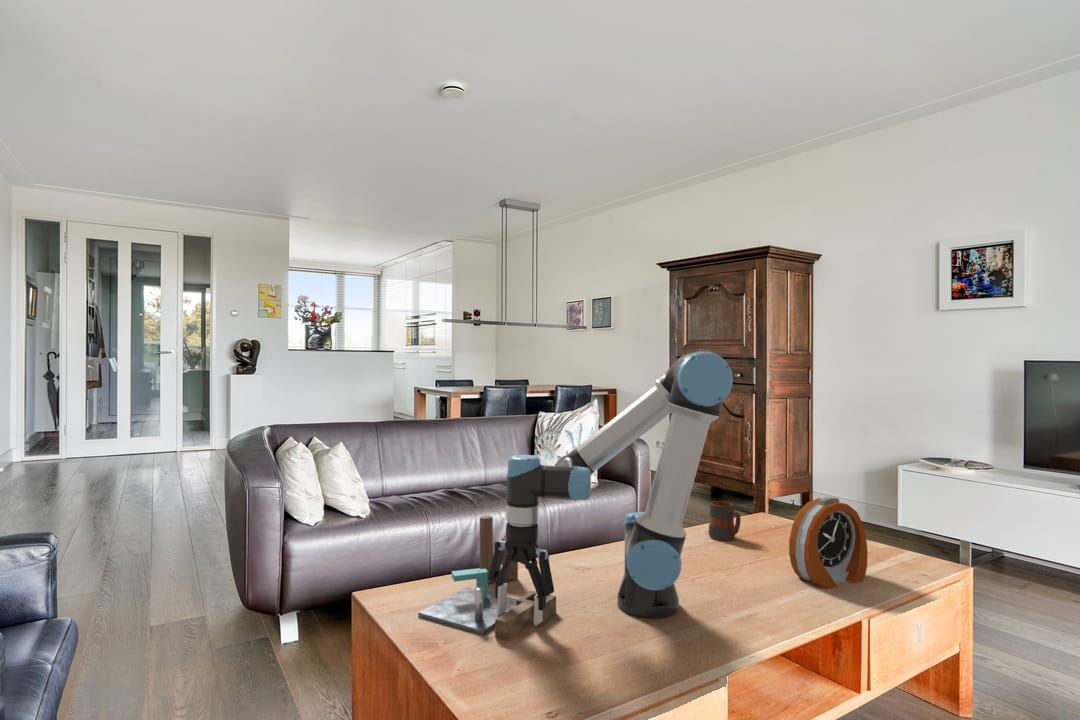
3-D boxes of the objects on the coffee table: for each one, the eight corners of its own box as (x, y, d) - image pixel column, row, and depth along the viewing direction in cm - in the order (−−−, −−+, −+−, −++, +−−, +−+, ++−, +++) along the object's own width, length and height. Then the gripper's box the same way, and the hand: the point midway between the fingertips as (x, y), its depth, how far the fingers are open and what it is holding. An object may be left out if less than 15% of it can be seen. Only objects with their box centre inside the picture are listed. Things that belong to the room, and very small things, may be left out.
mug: (731, 545, 204) (731, 510, 204) (703, 536, 214) (703, 502, 214) (748, 541, 209) (748, 506, 209) (720, 532, 219) (720, 499, 219)
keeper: (488, 602, 157) (488, 572, 157) (454, 606, 154) (454, 576, 154) (485, 596, 161) (485, 567, 161) (451, 601, 158) (451, 571, 158)
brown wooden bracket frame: (518, 579, 173) (518, 515, 173) (481, 585, 169) (481, 519, 169) (513, 575, 176) (513, 512, 176) (477, 580, 172) (477, 515, 172)
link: (531, 606, 155) (531, 590, 154) (556, 612, 151) (556, 596, 151) (487, 635, 139) (487, 617, 139) (514, 642, 135) (514, 624, 135)
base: (528, 605, 155) (528, 573, 155) (482, 635, 139) (482, 599, 139) (467, 590, 165) (467, 560, 165) (418, 616, 149) (418, 583, 148)
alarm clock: (816, 591, 165) (816, 506, 165) (787, 579, 174) (788, 498, 174) (874, 579, 174) (874, 498, 174) (844, 568, 183) (844, 491, 183)
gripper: (571, 526, 143) (568, 623, 143) (492, 511, 154) (490, 601, 154) (555, 534, 136) (552, 636, 137) (474, 517, 147) (472, 611, 148)
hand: (519, 617), depth 145 cm, fingers open, 9 cm apart
